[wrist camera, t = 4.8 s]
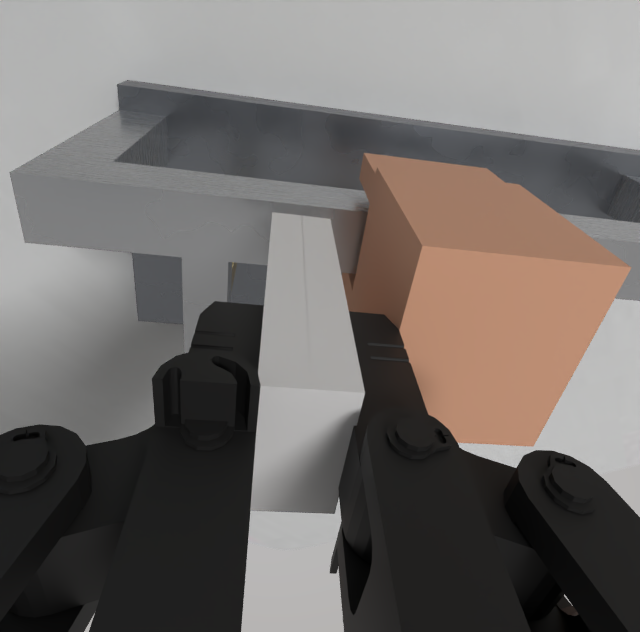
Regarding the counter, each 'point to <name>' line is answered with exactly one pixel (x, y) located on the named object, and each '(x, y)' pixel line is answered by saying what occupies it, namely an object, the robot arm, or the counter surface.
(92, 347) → the counter surface
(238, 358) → the robot arm
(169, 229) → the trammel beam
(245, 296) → the bolt plate
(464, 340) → the block
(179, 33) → the counter surface
